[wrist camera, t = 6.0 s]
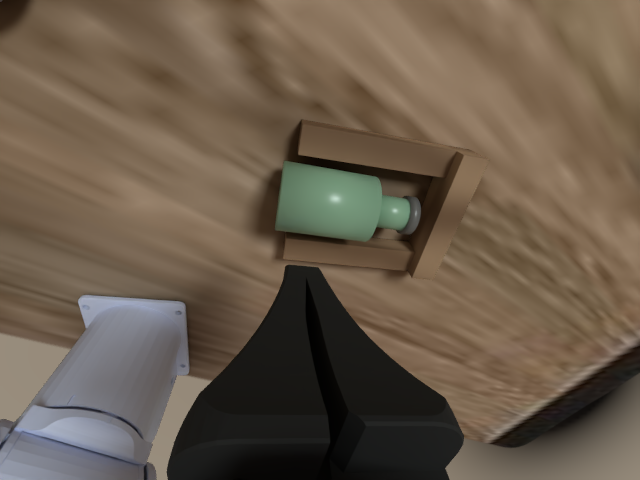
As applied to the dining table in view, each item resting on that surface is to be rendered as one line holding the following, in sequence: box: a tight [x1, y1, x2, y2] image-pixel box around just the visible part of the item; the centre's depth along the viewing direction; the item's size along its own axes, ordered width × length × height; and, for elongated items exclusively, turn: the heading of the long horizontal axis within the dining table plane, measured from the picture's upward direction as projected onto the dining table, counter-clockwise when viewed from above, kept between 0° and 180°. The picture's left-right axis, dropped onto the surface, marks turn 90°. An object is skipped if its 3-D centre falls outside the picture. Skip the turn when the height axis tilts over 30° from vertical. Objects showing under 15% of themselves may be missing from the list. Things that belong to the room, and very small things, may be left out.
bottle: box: [275, 161, 421, 242], centre depth 20 cm, size 4×4×9 cm
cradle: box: [283, 120, 490, 280], centre depth 21 cm, size 10×12×2 cm
